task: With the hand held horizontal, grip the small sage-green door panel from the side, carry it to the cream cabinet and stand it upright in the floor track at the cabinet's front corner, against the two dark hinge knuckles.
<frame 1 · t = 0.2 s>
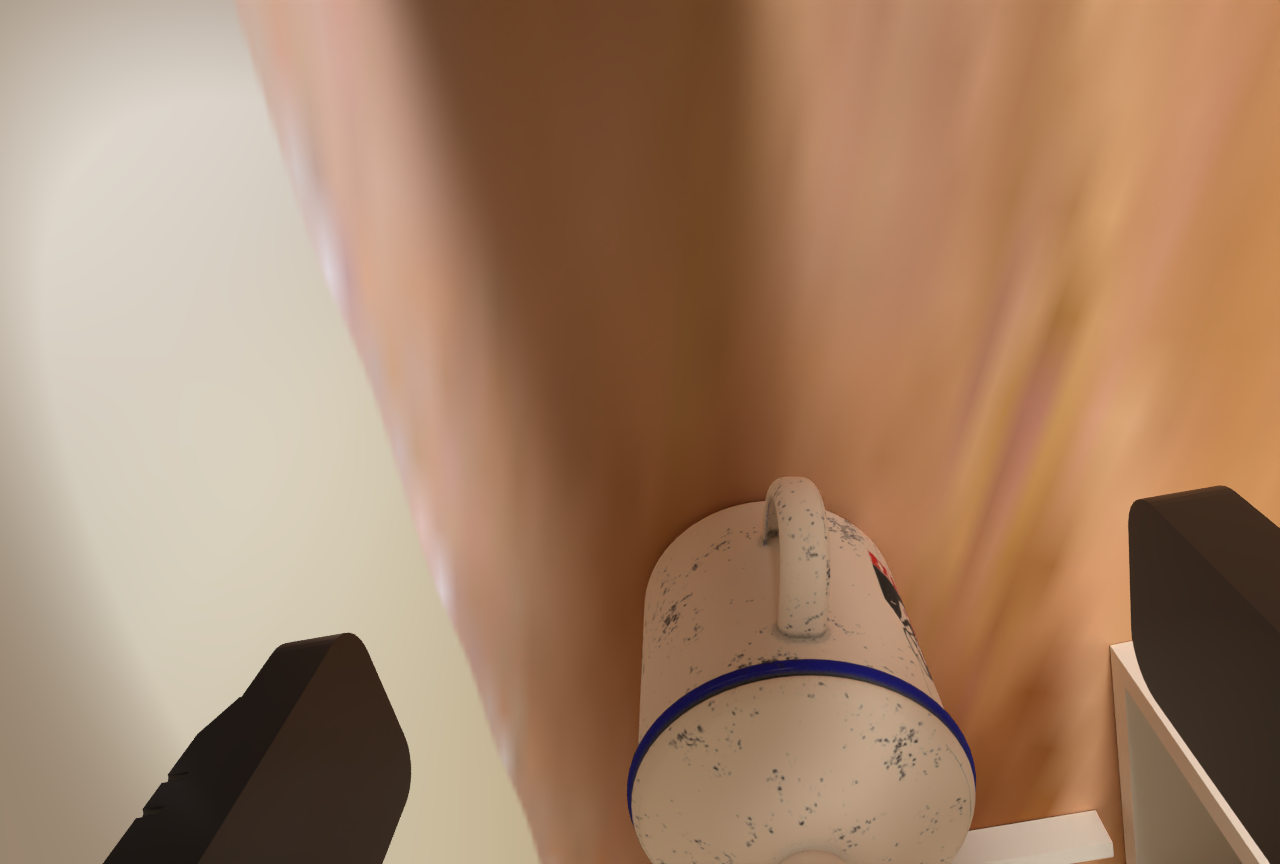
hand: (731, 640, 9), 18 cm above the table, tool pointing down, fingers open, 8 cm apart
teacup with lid: (768, 563, 30), on the table
cabinet: (1258, 751, 33), on the table
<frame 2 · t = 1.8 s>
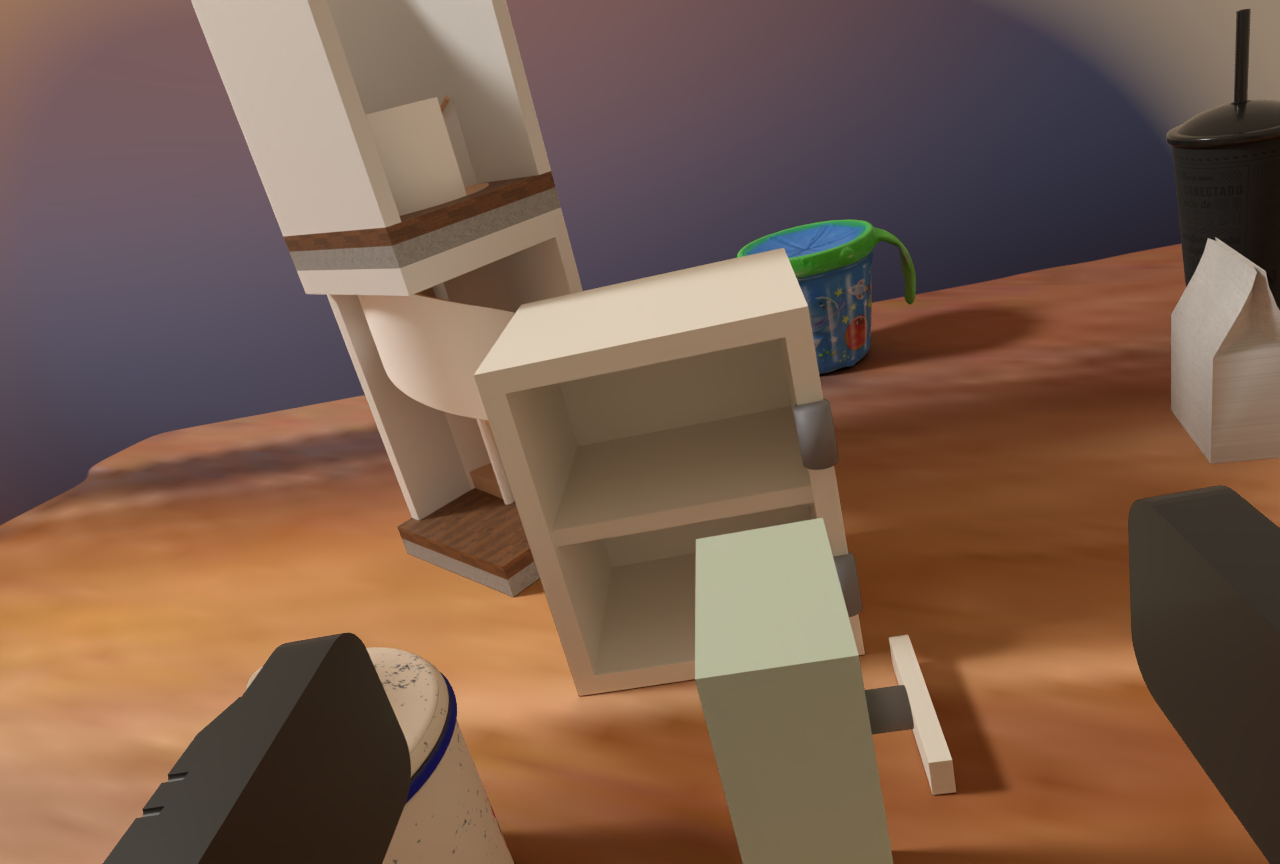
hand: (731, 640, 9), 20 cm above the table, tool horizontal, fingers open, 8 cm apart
display case: (523, 532, 57), on the table
drinking cup: (1232, 335, 59), on the table
cabinet: (716, 609, 44), on the table
snack cup: (824, 362, 72), on the table
white milk carton: (1227, 435, 48), on the table
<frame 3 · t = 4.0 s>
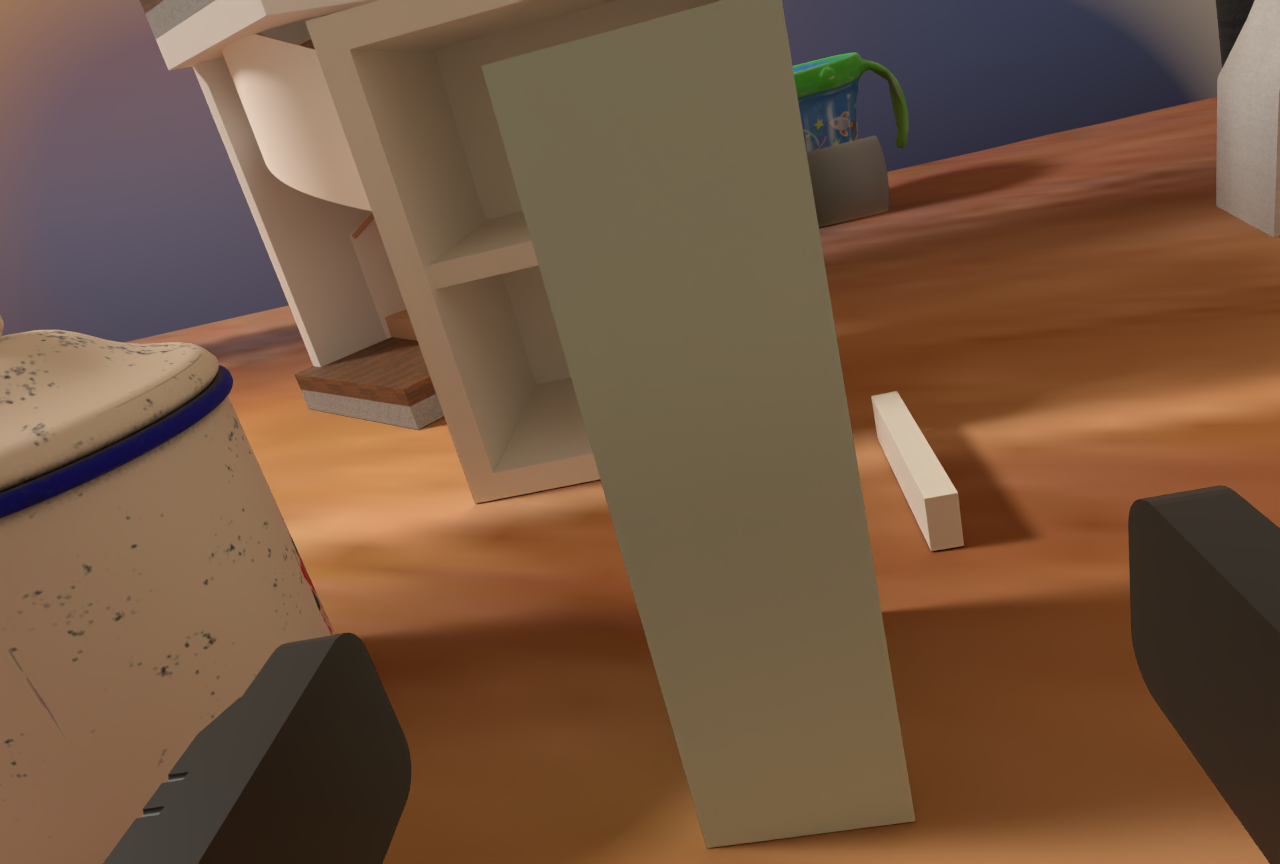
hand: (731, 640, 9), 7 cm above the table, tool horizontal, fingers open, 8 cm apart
door: (791, 714, 18), on the table
display case: (444, 380, 48), on the table
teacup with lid: (144, 758, 22), on the table
cabinet: (658, 414, 35), on the table
snack cup: (805, 223, 63), on the table
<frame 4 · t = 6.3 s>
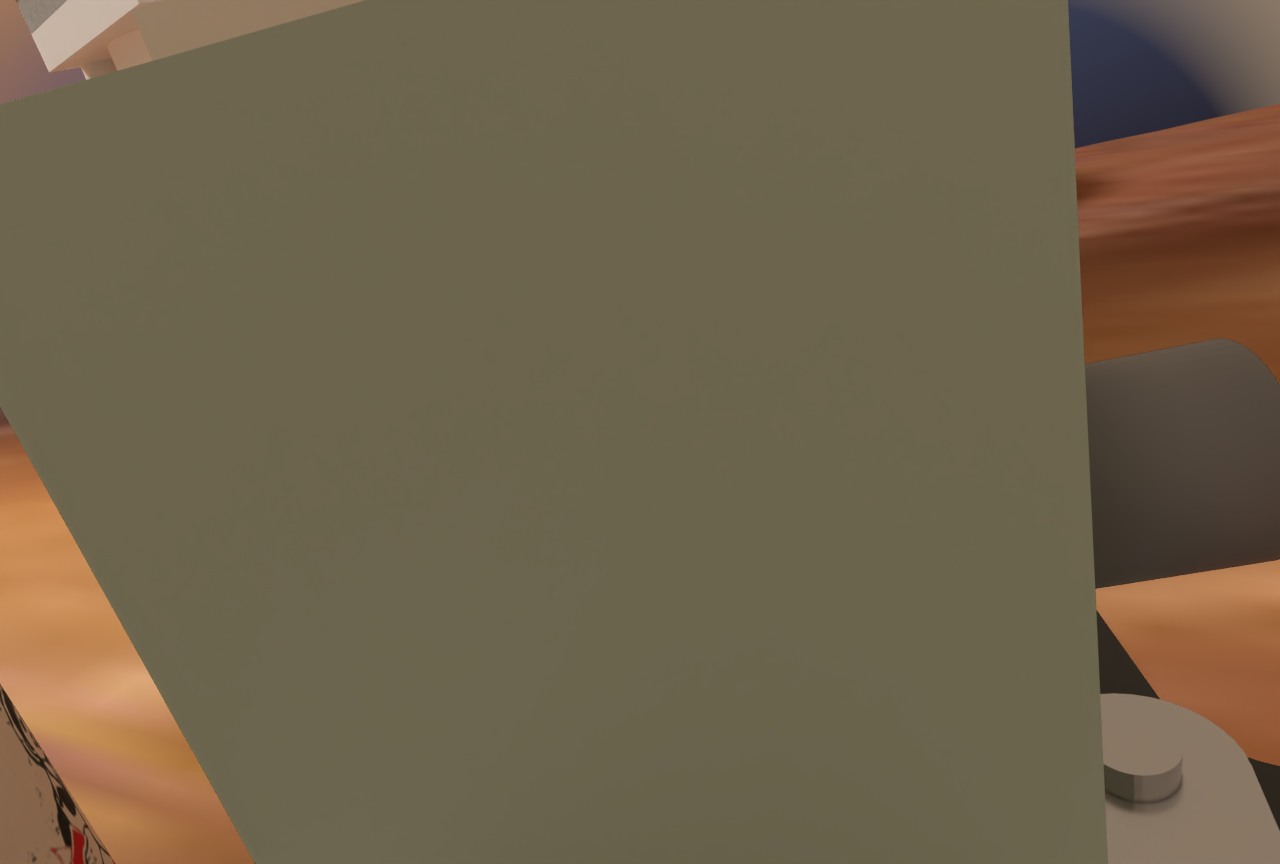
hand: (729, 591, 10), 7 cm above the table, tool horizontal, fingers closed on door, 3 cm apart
display case: (395, 443, 40), on the table
cabinet: (647, 520, 27), on the table
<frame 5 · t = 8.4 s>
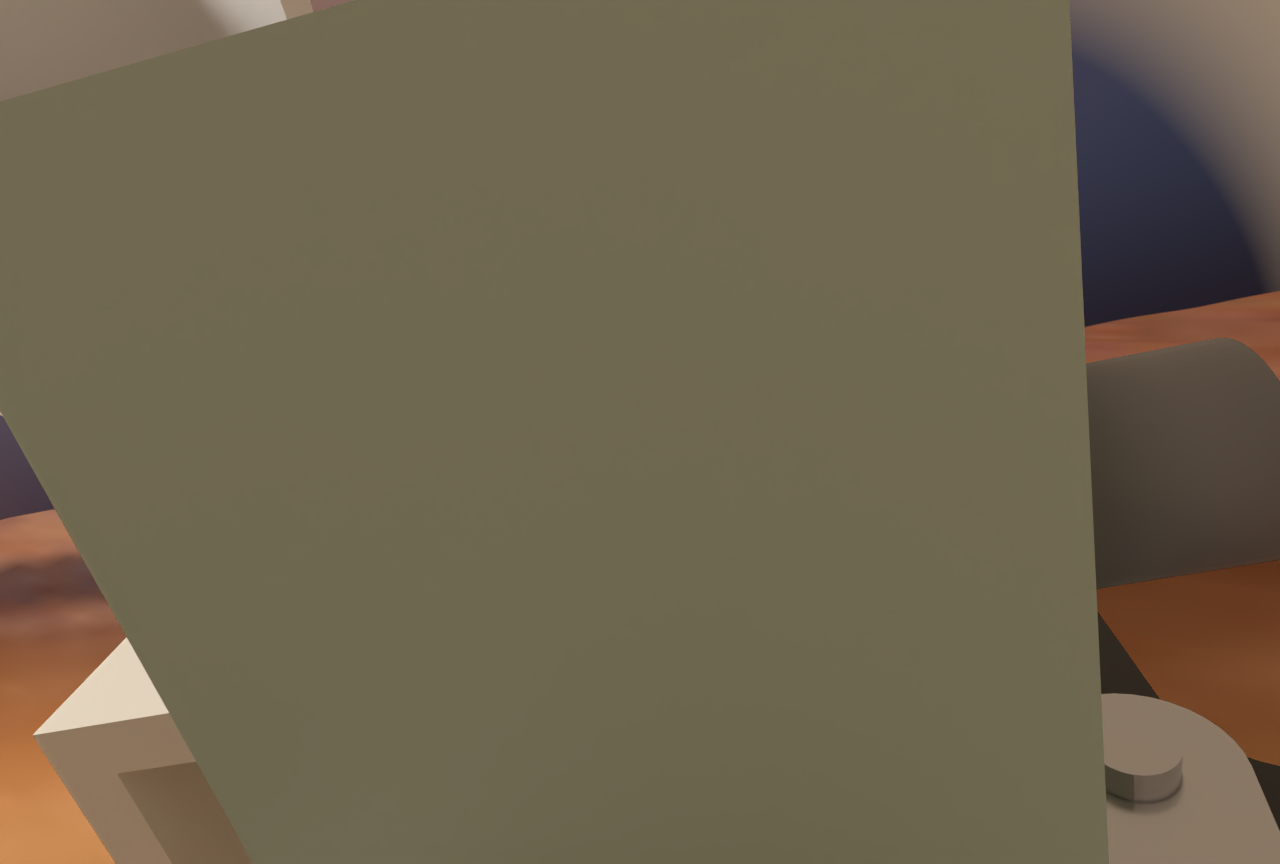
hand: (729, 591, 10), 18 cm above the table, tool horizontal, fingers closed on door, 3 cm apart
display case: (381, 760, 37), on the table
when the fingers open (8 cm above the table, at t = 10.4 s): door drops 1 cm, resting in cabinet.
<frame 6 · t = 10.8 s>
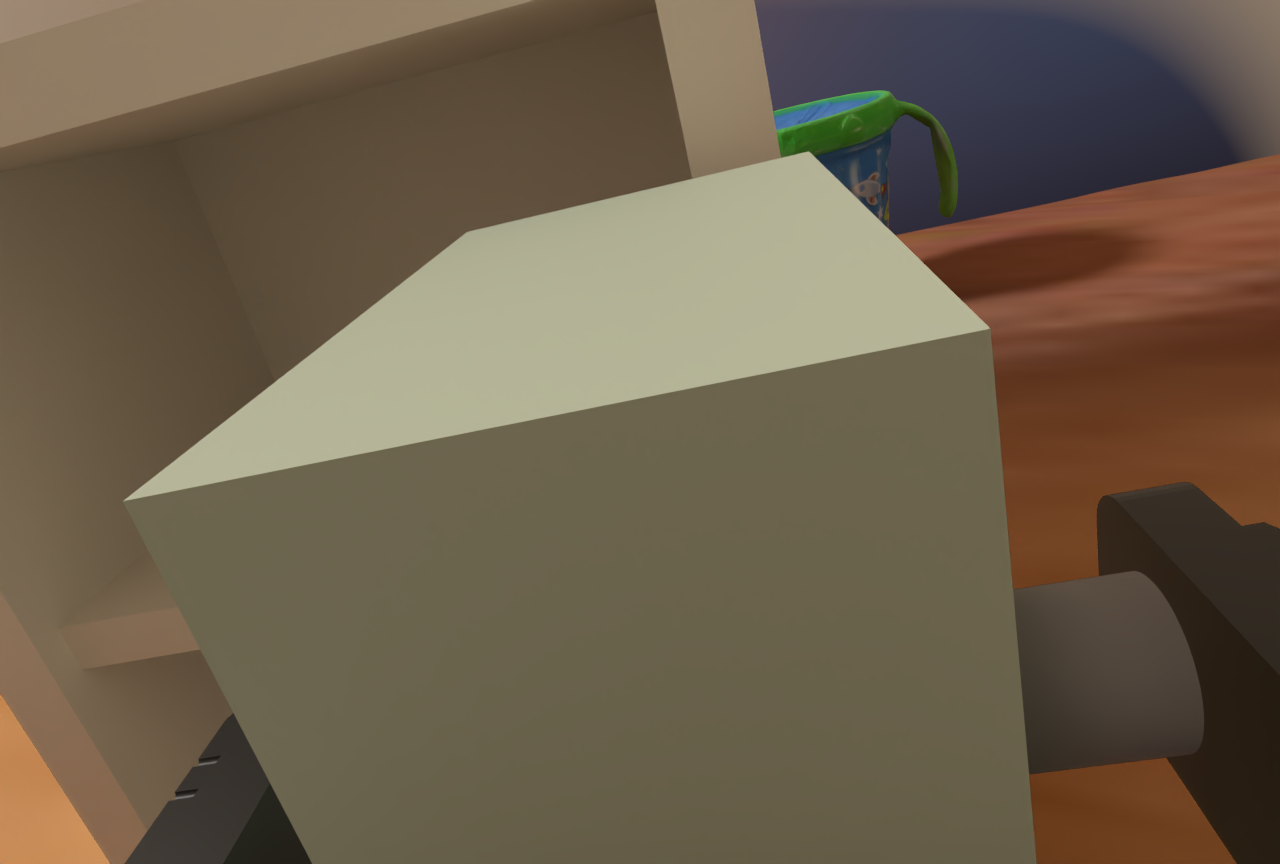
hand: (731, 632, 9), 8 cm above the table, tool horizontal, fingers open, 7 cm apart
display case: (298, 579, 33), on the table
cabinet: (576, 770, 20), on the table
snack cup: (817, 311, 48), on the table
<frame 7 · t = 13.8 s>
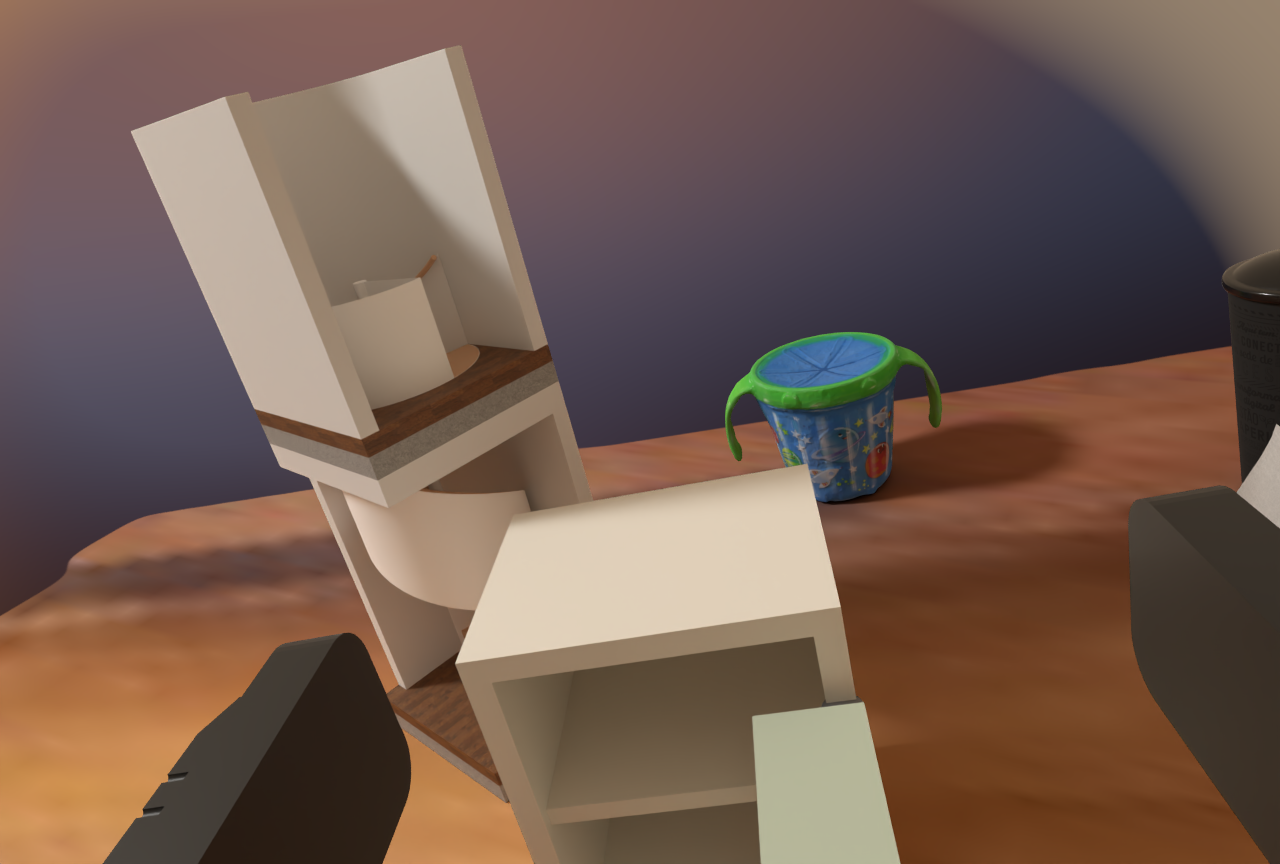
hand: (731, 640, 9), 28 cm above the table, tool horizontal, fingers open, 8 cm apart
display case: (518, 703, 53), on the table
cabinet: (728, 849, 40), on the table
snack cup: (841, 483, 67), on the table
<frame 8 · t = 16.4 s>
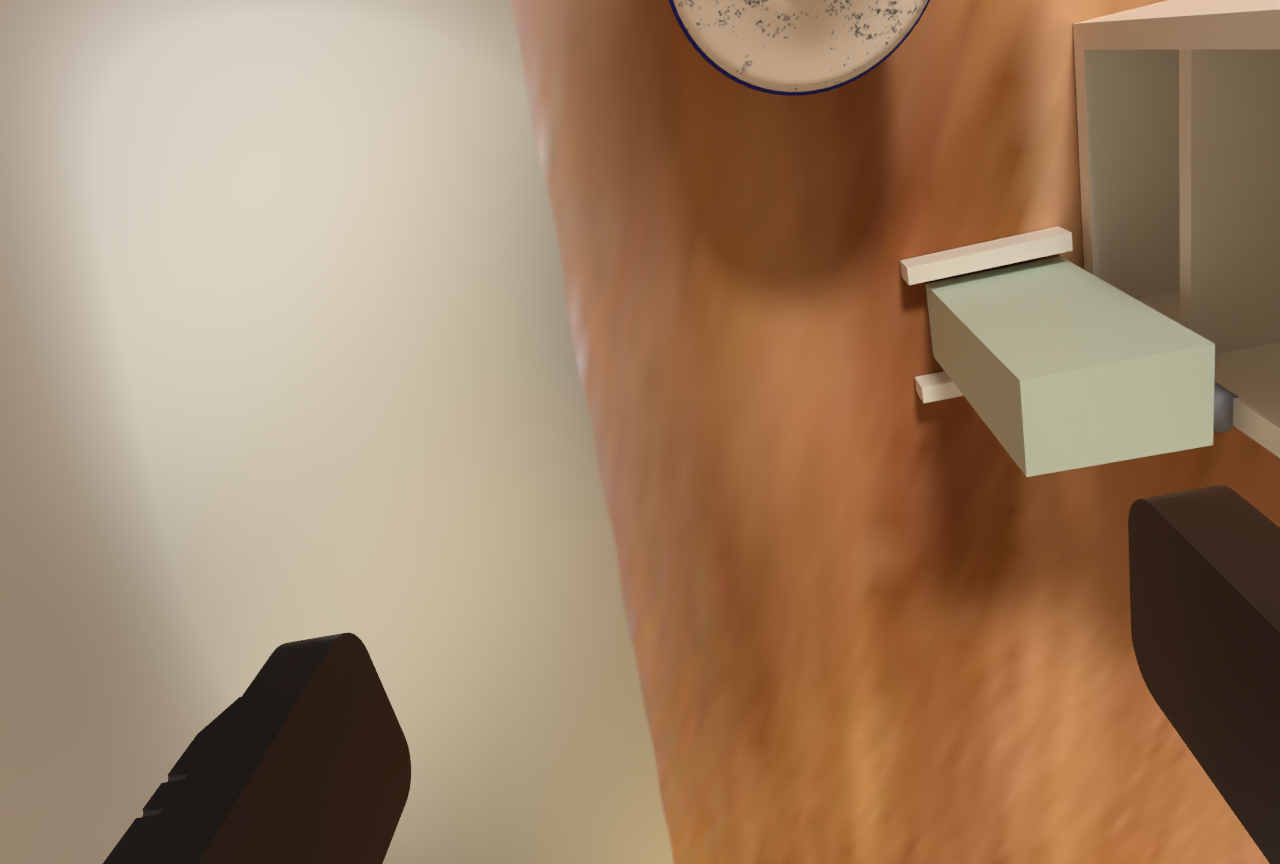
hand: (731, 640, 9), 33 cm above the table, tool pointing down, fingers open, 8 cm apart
door: (994, 307, 41), resting in cabinet
cabinet: (1201, 155, 38), on the table
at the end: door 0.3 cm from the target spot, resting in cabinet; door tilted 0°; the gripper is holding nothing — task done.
